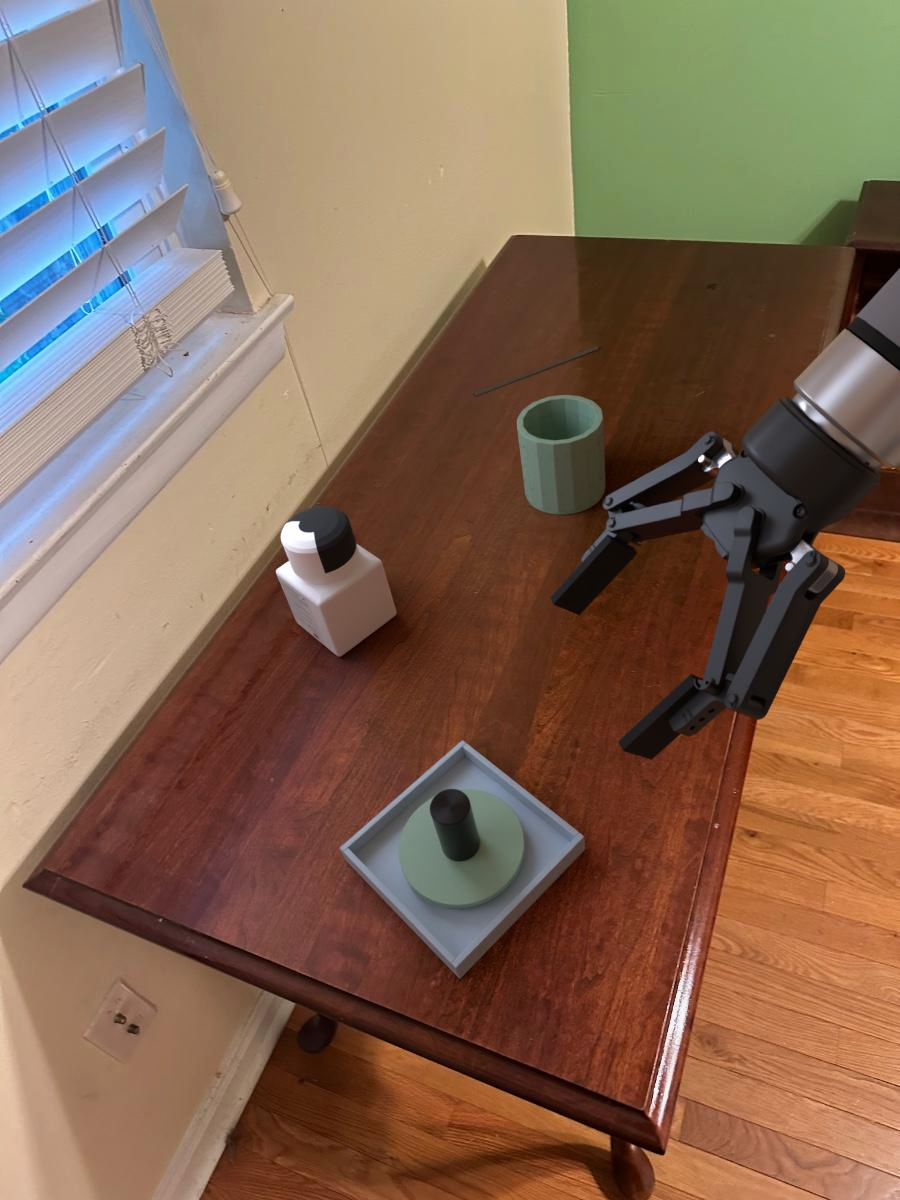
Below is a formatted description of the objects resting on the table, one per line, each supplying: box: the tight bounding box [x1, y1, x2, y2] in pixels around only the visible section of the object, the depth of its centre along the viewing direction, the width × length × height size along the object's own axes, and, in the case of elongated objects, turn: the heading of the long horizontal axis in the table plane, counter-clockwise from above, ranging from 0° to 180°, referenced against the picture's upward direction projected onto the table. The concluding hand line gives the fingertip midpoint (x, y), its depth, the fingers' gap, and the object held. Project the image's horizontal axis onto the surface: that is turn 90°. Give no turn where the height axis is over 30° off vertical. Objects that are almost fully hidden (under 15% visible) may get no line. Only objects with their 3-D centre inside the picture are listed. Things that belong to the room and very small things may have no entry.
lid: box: [399, 789, 525, 908], centre depth 64 cm, size 10×10×7 cm
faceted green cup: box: [516, 394, 606, 516], centre depth 93 cm, size 9×9×10 cm
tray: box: [339, 739, 586, 979], centre depth 66 cm, size 14×14×2 cm
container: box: [275, 505, 397, 658], centre depth 83 cm, size 8×8×13 cm
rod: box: [473, 345, 600, 397], centre depth 115 cm, size 1×19×1 cm, turn 114°
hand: (596, 673), depth 58 cm, fingers open, 13 cm apart
